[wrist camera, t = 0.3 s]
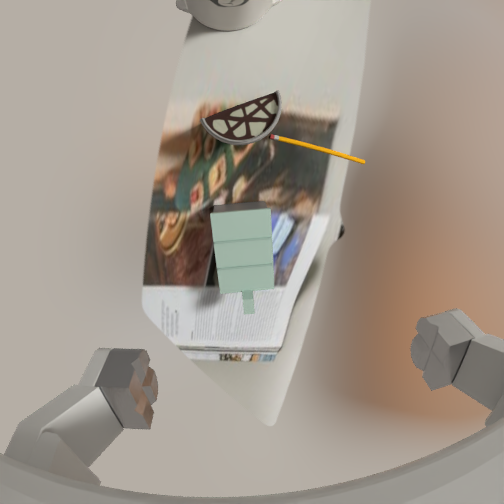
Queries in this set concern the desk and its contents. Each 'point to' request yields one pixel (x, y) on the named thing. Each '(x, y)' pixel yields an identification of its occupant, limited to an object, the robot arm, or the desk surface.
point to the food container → (245, 120)
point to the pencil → (316, 148)
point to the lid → (243, 252)
